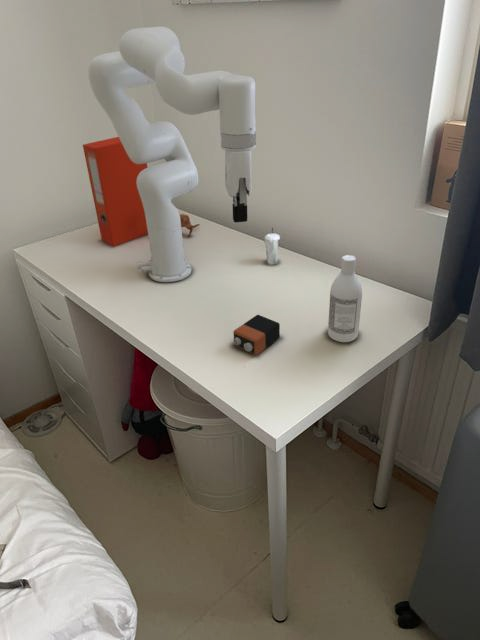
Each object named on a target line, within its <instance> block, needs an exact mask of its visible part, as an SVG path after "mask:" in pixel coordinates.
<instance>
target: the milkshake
mask: <svg viewBox="0 0 480 640" xmlns="http://www.w3.org/2000/svg"><path fill="white" fill-rule="evenodd" d="M280 239H281V236H280V235H279V234H277V233H274V227H271V233H267V234H266V235H264V245H265V246H264V247H265V254H266V264H268V265H272V266H273V265H277V264H278V262H279V249H280Z"/></svg>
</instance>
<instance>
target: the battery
mask: <svg viewBox="0 0 480 640" xmlns="http://www.w3.org/2000/svg"><path fill="white" fill-rule="evenodd" d="M280 331H281V327H280V322H277V321H275V320H273V319H270V318H268V317H265V316H263V315H260V314H256V315H255V316H253V317H251V319H249V320H248V321H245V322H244V323H243V324H241V325H240V326H238V327H237V328H235V329H234V330H233V345H234V346H235V347H237V348H239V349H240V350H244V351H245V352H247V353H250V354H252V355H254V356H258V355H259V354H260V353H262V352H263V351H264V350H266V349H267V348H268V347H269V346H271V345H272V344H274V342H276V341H278V340H279V339H280V338H281V336H280V335H281V333H280Z"/></svg>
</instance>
